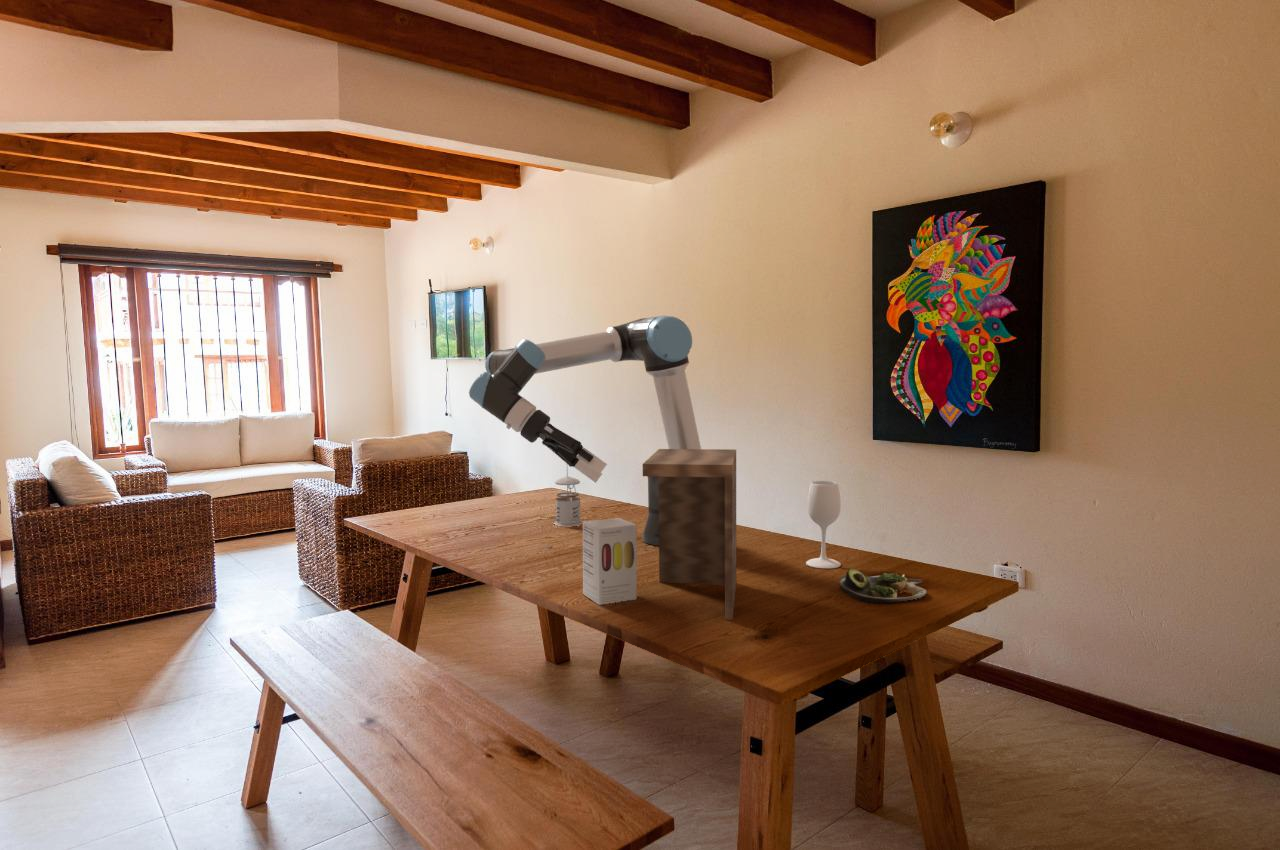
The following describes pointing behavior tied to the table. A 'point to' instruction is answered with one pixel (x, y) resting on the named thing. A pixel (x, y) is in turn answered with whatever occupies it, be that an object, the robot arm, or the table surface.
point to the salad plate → (879, 587)
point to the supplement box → (609, 560)
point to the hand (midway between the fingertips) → (601, 474)
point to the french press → (568, 504)
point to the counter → (697, 517)
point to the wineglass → (823, 516)
